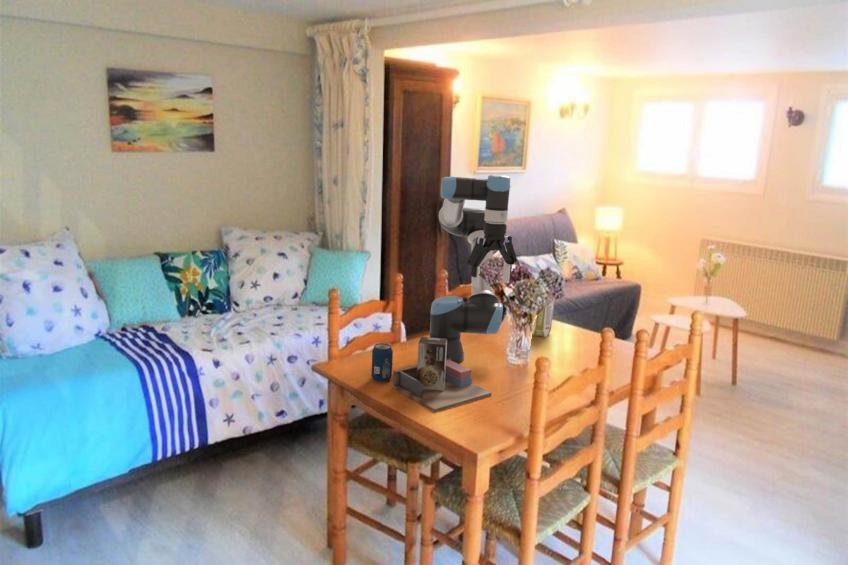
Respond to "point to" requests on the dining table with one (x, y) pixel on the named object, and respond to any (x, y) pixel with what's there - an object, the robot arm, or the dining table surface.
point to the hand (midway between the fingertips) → (490, 284)
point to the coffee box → (432, 362)
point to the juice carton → (544, 321)
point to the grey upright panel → (410, 384)
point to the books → (457, 374)
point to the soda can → (382, 362)
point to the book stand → (441, 392)
